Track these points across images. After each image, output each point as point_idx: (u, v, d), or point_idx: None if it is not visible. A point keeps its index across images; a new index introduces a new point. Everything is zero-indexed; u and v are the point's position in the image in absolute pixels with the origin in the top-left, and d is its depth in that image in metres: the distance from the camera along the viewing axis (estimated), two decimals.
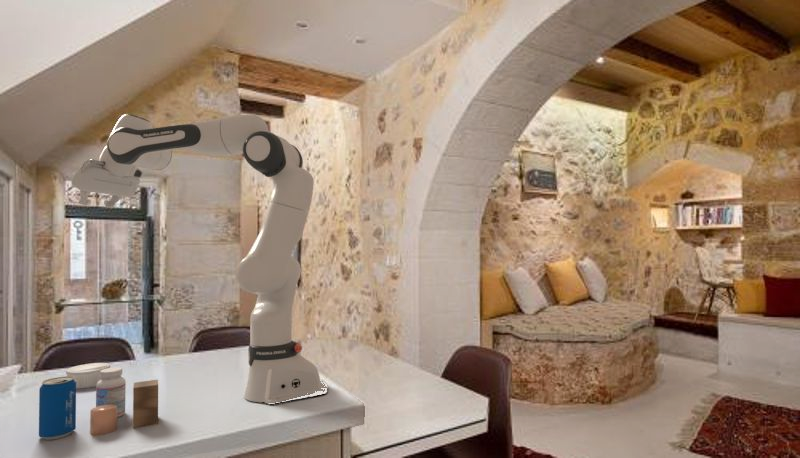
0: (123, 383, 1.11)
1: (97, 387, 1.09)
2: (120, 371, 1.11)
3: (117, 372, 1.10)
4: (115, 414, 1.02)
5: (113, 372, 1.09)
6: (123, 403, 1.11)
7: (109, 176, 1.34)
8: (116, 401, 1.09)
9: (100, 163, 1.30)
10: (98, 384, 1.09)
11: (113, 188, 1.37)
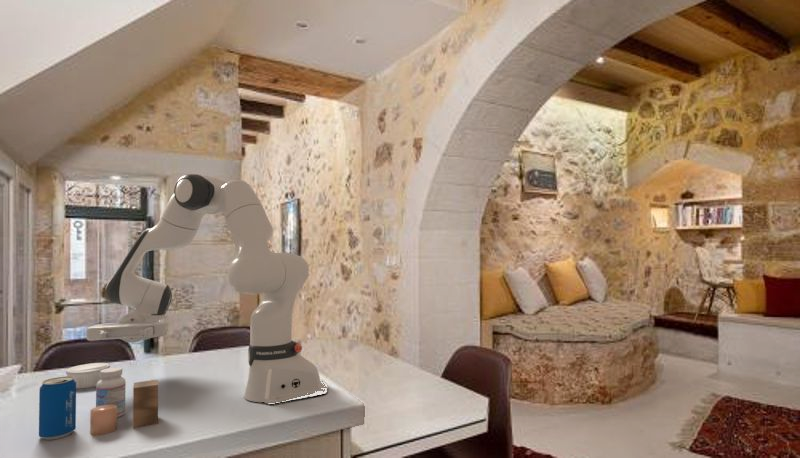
0: (123, 383, 1.11)
1: (97, 387, 1.09)
2: (120, 371, 1.11)
3: (117, 372, 1.10)
4: (115, 414, 1.02)
5: (113, 372, 1.09)
6: (123, 403, 1.11)
7: (123, 323, 1.32)
8: (116, 401, 1.09)
9: None
10: (98, 384, 1.09)
11: (134, 324, 1.30)
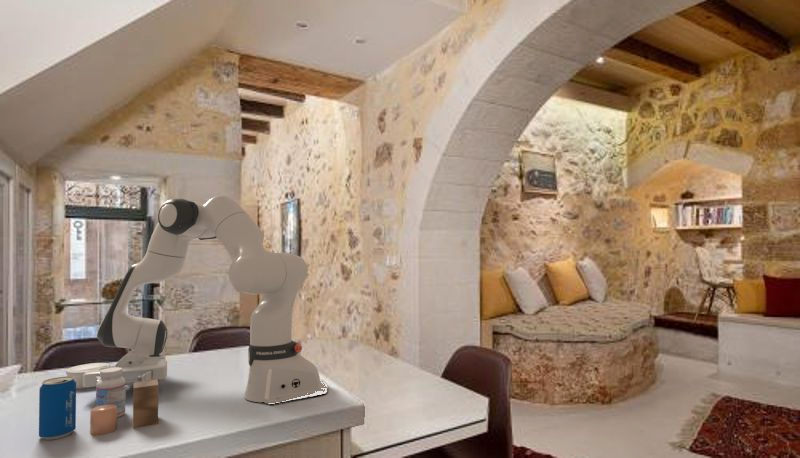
0: (123, 383, 1.11)
1: (97, 387, 1.09)
2: (120, 371, 1.11)
3: (117, 372, 1.10)
4: (115, 414, 1.02)
5: (113, 372, 1.09)
6: (123, 403, 1.11)
7: (121, 366, 1.28)
8: (116, 401, 1.09)
9: None
10: (98, 384, 1.09)
11: (132, 367, 1.26)
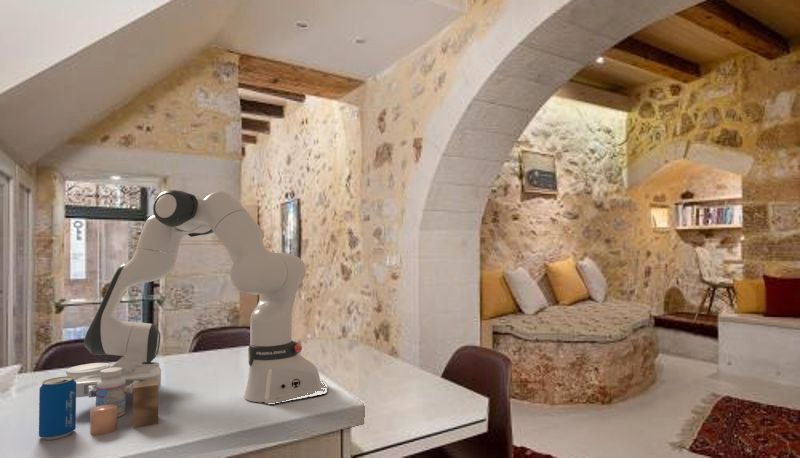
0: (123, 383, 1.11)
1: (97, 387, 1.09)
2: (120, 371, 1.11)
3: (117, 372, 1.10)
4: (115, 414, 1.02)
5: (113, 372, 1.09)
6: (123, 403, 1.11)
7: None
8: (116, 401, 1.09)
9: None
10: (98, 384, 1.09)
11: (123, 376, 1.17)
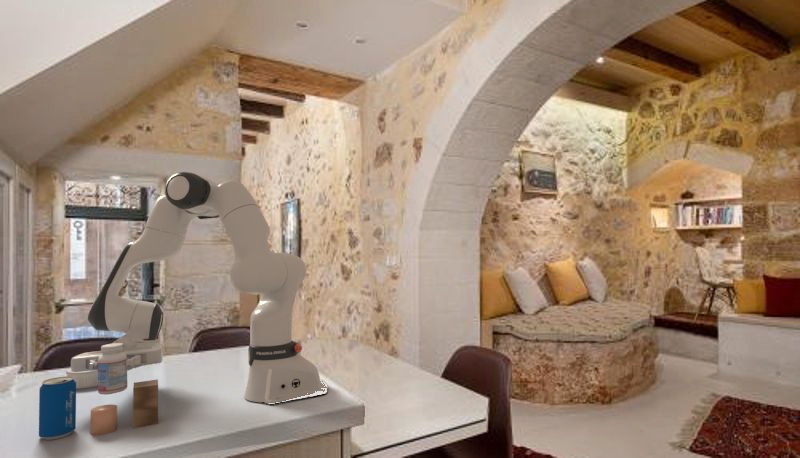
0: (124, 358, 1.11)
1: (98, 362, 1.09)
2: (121, 346, 1.11)
3: (118, 347, 1.10)
4: (115, 414, 1.02)
5: (114, 347, 1.10)
6: (125, 378, 1.11)
7: None
8: (118, 375, 1.09)
9: None
10: (99, 359, 1.09)
11: (124, 351, 1.17)
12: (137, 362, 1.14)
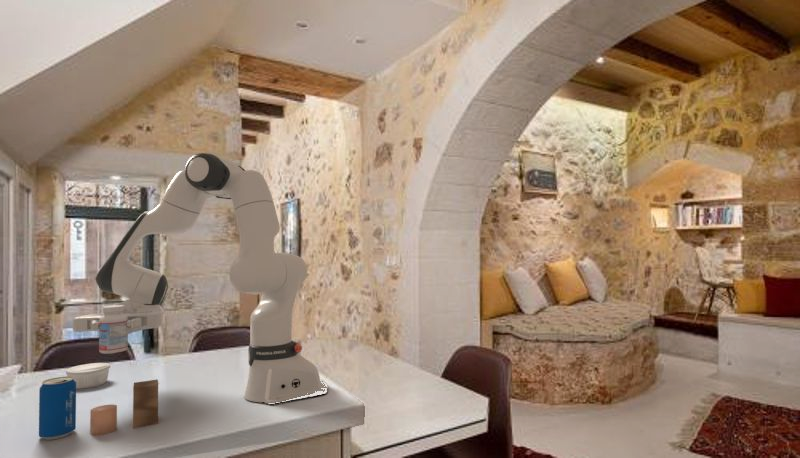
0: (125, 319, 1.14)
1: (100, 322, 1.11)
2: (122, 307, 1.14)
3: (119, 308, 1.13)
4: (115, 414, 1.02)
5: (115, 307, 1.12)
6: (125, 339, 1.13)
7: None
8: (119, 336, 1.12)
9: None
10: (101, 319, 1.11)
11: (125, 314, 1.20)
12: (137, 324, 1.17)
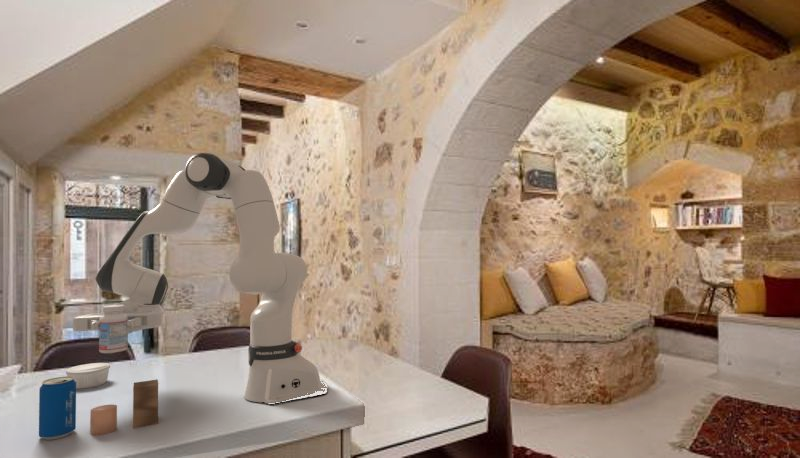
0: (125, 319, 1.14)
1: (100, 321, 1.11)
2: (122, 307, 1.14)
3: (119, 308, 1.13)
4: (115, 414, 1.02)
5: (115, 307, 1.12)
6: (125, 338, 1.14)
7: None
8: (119, 335, 1.12)
9: None
10: (101, 318, 1.11)
11: (125, 313, 1.20)
12: (137, 324, 1.17)
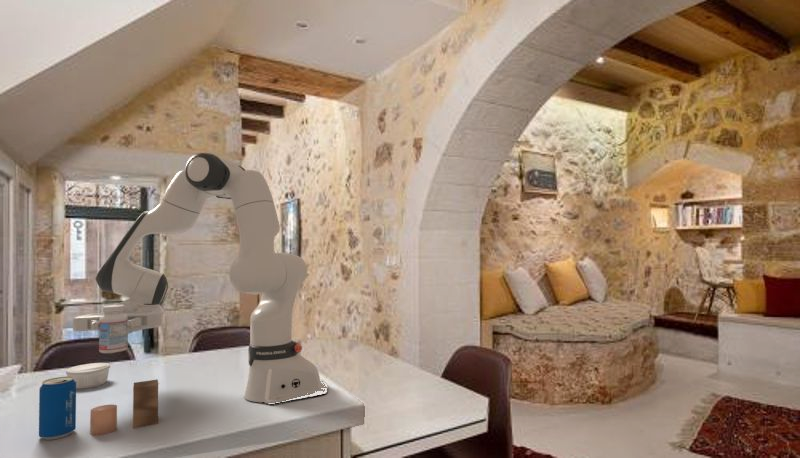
0: (125, 319, 1.14)
1: (100, 321, 1.11)
2: (122, 307, 1.14)
3: (119, 308, 1.13)
4: (115, 414, 1.02)
5: (115, 307, 1.12)
6: (125, 338, 1.14)
7: None
8: (119, 335, 1.12)
9: None
10: (101, 318, 1.11)
11: (125, 313, 1.20)
12: (137, 324, 1.17)
